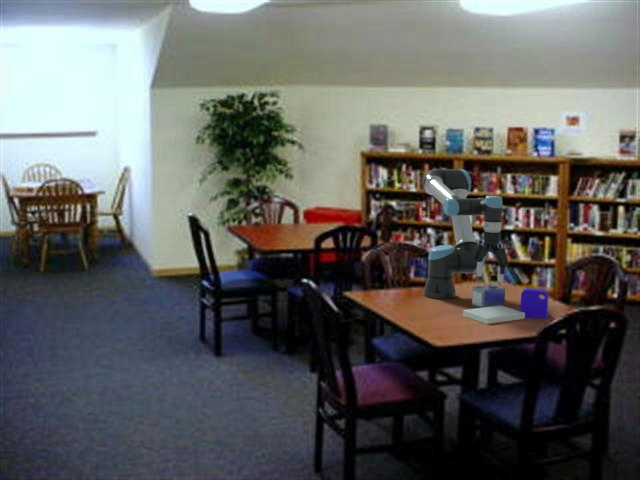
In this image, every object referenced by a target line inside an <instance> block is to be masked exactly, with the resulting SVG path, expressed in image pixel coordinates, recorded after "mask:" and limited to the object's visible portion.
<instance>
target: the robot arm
mask: <svg viewBox="0 0 640 480" xmlns="http://www.w3.org/2000/svg"><path fill="white" fill-rule="evenodd" d="M421 185H422V188H423V190H424V191H425V193H426V194H428V195H430V196H432V197H434V198H435V199H436V200H437V201H438V202H440V204H441V205H442V209H443V212H444V214H445V215H446V216H450V217H451V222H452V227H453V233H454V238H455V244H454V245H449V244H447V245H446V244H444V245H443V244H442V245H436V246H434V247H431V248H430V249H429V252H428V258H427V259H428V266H427V279H426V283H425V286H424V288H423V293H422V294H423V296H424V297H428V298H433V299H439V300H440V299H444V300H446V299H453V298H456V297H457V291H456V287H455V284H454V283H455V282H454V274H476V277H483V272H484V271H483V270H484V266H485V264H486V255H487V254H488V253H491V254H493V256H494V258H495V259H496V261H497V263H498V267H497V282H498V283H499V282H501V283H502V282H504V278H505V277H504V276H505V274H506V271H505V269H506V267H509V266H510V263H509V260H508V256H507V253H506V249H505V244H504V243H500V241H501V239H502V237H501V235H502V232H501V231H502V217H503V197H502V196H498V195H486V196H485V197H478V198H467V196H468V195H469V193H470V191H471V190H472V189H471V188H472V178H471V176H470V174H469V172H468V171H467V170H466V169H461V168H452V169H451V168H435V169H432V170H429V171H428V172H427V173H426V174H425V175H424V176H423V177H422V181H421ZM470 216H482V217H484V218H483V230H484V231H483V233H482V234H483V235H482V240H481V239H480V240H478V241H479V242H478V241H476V240H475V238H474V233H473V226H472V222H471V221H472V220H471V217H470Z"/></svg>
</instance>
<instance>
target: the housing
mask: <svg viewBox="0 0 640 480" xmlns="http://www.w3.org/2000/svg"><path fill="white" fill-rule="evenodd" d="M471 292H472V295H471V307H473V308H474V309H477V308H485V307H493V306H504V307H505V302H506V301H505V300H506V288H505V287H502V286H501V285H498V284H497V283H489V284H488V285H479V286H478V285H477V286H472V291H471Z"/></svg>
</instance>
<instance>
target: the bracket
mask: <svg viewBox="0 0 640 480" xmlns="http://www.w3.org/2000/svg"><path fill="white" fill-rule="evenodd" d="M520 295H521V296H520V307H519V311H520V312H524V313H525V318H530V319H531V318H533V319H539V318H546V319H548V311H549V309H548V308H549V292H548V291H547V290H546V289H539V288H530V287H529V288H528V287H527V288H526V287H525V288H524V289H523V291H522V292H521V294H520ZM540 295H543V296H544V298H542V297H541V296H540Z"/></svg>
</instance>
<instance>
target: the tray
mask: <svg viewBox="0 0 640 480" xmlns="http://www.w3.org/2000/svg"><path fill="white" fill-rule="evenodd" d="M462 316H463V317H465V318H468V319H471V320H474V321H477V322H480V323H483V324H486V325H489V324H496V323H503V322H510V321H516V320H517V321H518V320H524V319H526V317H525V313H524V312H520V310H516V309H513V308H510V307H506V306H505V305H504V306H493V307H485V308H471V309H463V310H462Z"/></svg>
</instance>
